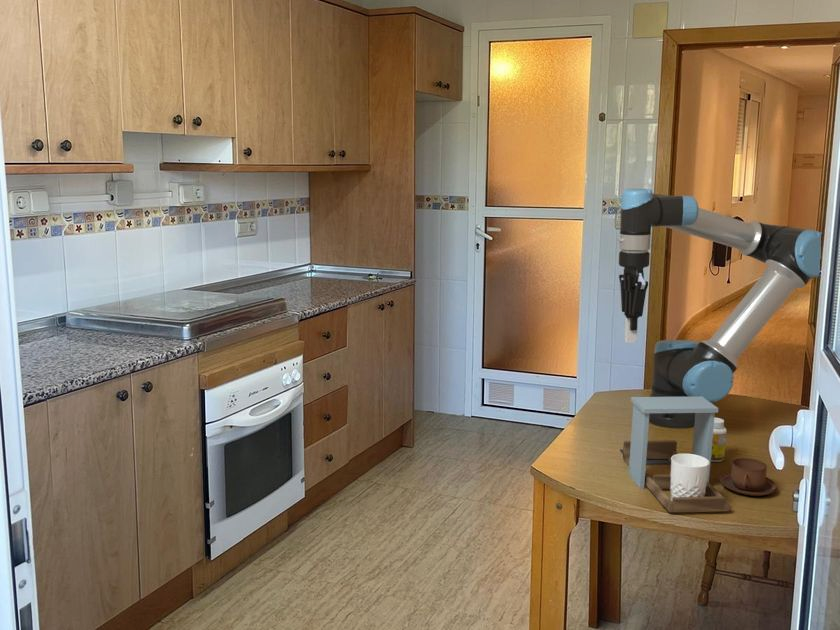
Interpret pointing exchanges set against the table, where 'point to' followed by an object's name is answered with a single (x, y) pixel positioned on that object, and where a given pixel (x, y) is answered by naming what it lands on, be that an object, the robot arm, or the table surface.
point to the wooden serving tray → (664, 481)
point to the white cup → (688, 475)
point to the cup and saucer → (748, 478)
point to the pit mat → (656, 461)
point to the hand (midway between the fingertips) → (630, 341)
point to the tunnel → (669, 405)
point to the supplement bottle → (718, 440)
